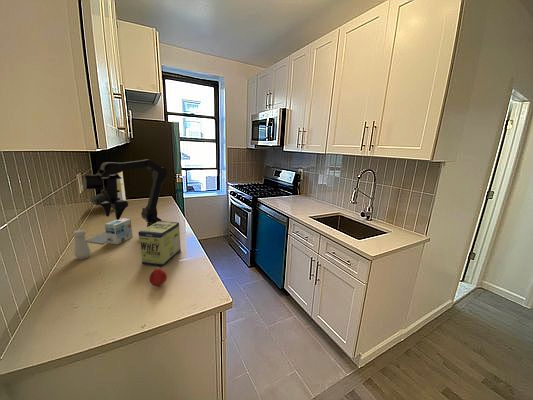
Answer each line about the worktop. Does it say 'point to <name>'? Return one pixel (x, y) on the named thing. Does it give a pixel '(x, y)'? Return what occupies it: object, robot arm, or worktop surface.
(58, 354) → the worktop surface
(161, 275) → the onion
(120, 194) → the pasta box
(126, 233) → the light bulb box
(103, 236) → the mat
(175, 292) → the worktop surface
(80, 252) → the salt shaker
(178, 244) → the protein box
